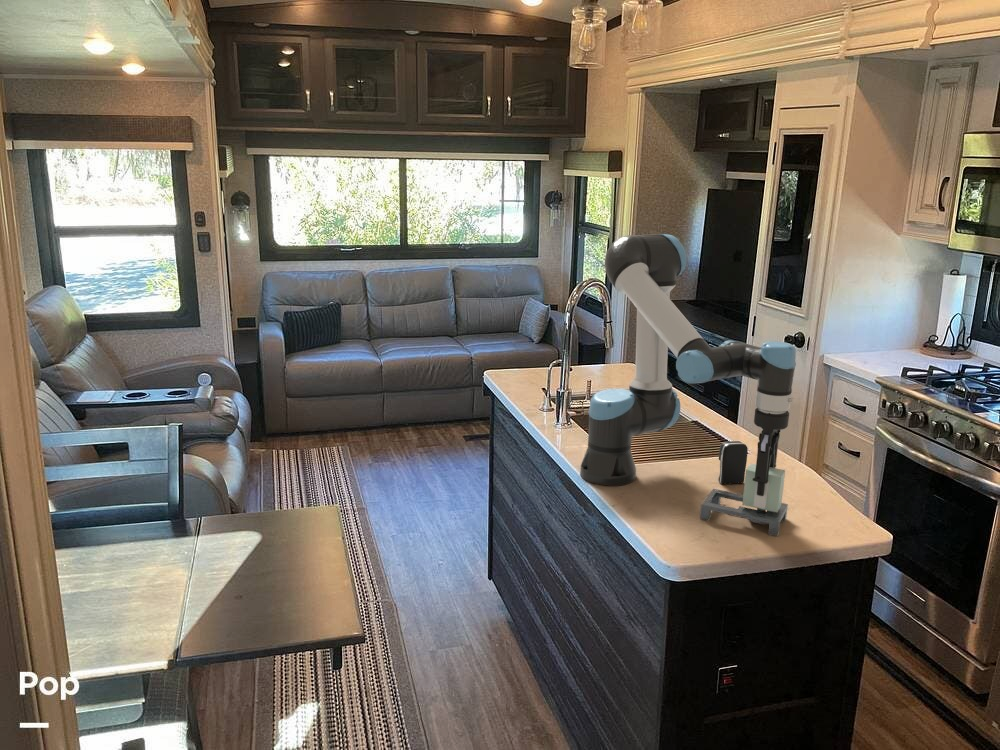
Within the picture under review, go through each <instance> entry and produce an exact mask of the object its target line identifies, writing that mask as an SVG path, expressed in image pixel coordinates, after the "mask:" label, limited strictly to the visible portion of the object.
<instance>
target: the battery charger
mask: <svg viewBox="0 0 1000 750" xmlns="http://www.w3.org/2000/svg"><path fill="white" fill-rule="evenodd" d="M748 451H749V449H748V446H747V444H746V443H744V442H742V441H739V440H735V441H724V442H722V443H720V446H719V451H718V460H719V461H720V463H719V465H720V466H719V475H718V482H719V484H721V485H736V484H745V475H746V469H747V462H748V461H747V460H748Z"/></svg>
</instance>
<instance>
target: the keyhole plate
mask: <svg viewBox="0 0 1000 750" xmlns="http://www.w3.org/2000/svg"><path fill="white" fill-rule="evenodd" d="M743 495H744V494H741V493H735V492H732V491H731V492H730V491H726V490H721V489H717V488H712V490H711V492H709V494H708V495H707V496H706V497H705V499H704V500H703V501H702V502H701V504H700V512H699V514H700V516H699V519H700V520H704V521H707V522H708V521H709V520H710V519H711V515H712V514H711V513H712V512H716V513H720V514H726V515H730V516H735V517H739V518H743V519H747V520H749V519H752V520H756V521H761V522H765V523H770V524H768V525H769V526H768V533H767V534H768V535H769V536H773V537H778V536H779V534H780V527H781V522H782V523H784V522H786V520H787V515H788V507H789V504H788V503H784V502H782V504H781V507H780V509H779V510H778V512H773V511H768V510H766V512H764V511H760V510H757V509H756V508H755V509H754V508H752V507H747V506H741V505H740V506H739V507H738V508H735V507H730V506H727V505H726V506H725V505H721V498H722V499H726V500H727V499H729V500H732V501H737V502H742V503H743Z"/></svg>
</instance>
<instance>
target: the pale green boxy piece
mask: <svg viewBox="0 0 1000 750" xmlns="http://www.w3.org/2000/svg"><path fill="white" fill-rule="evenodd" d="M755 471H756V463H755V464H754V463H749V466H748V467H746V469H745V477H744V488H743V494H742V495H743V502H742V506H744V507H748V508H753V509H754V508H755V509H756V510H760V511H764V512H767V510H768V511H773V512H778V510H779V509H780V507H781V504H782V503H783V494H784V486H785V476H786V470H785V469H781V468H777V467H775V468H771V467H770V468H769V475H768V482H769V484H768V493H767V502H766V508H765V509H764V508H759V507H754V506H753V505H754V495H755V486H756V482H755V481H753V478H755ZM748 520H749V521H751V522H753V523H755V524H760V525H769V524H770V523H765V522H761V521H756V520H752V519H748Z"/></svg>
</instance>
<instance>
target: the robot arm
mask: <svg viewBox="0 0 1000 750" xmlns="http://www.w3.org/2000/svg"><path fill="white" fill-rule="evenodd" d="M604 257H605V258H604V269H605V272H606V276H607V278H608V280H609V282H610V283H611V285H612V286H613V287H614V289H615V290H616V291H617V292H618V293H621V294H625V296H626V297H627V298H628V299H629V300H630V302H631V303H632V304H633V305H634V307H635V308H636V329H635V331H636V337H635V338H636V339H635V366H634V367H635V372H634V373H635V374H634V375H635V376H634V378H633V379H632V380H631V381H630V382H629V388H628V389H625V388H608V389H603V390H600V391H597V392H596V393H594V394H593V395H592V397H591V398H590V402H589V408H588V437H587V448H586V451H585V453H584V457H583V458H582V462H581V464H580V468H579V469H580V471H579V472H580V474H579V475H580V477H581V478H582V479H583V480H585V481H587V482H590V483H592V484H595V485H601V486H608V485H609V487H610V485H612V487H613V486H624V485H628V484H631V483H632V482H634V481H635V480H636V479H637V478H636V477H637V466H636V463H635V460H634V456H633V453H632V437H635V436H639V435H644V434H648V433H653V432H654V433H655V432H662V431H663V430H667V429H669V428H671V427H672V426H673V425H675V423H676V422H677V420H678V419H679V417H680V413H681V401H680V398H678V393H677V392H676V391H675V390H674V389H673V384H672V383H671V382H670V380H669V379H668V358H669V357H668V354H669V353H668V351H669V350H670V351H671V352H672V353H673V355H674V356H675V358H676V361H675V369H676V371H677V375H678V378H680V379H681V381H683V382H685V383H687V384H704V383H708V382H712V381H716V380H722V379H730V378H735V377H745V378H749V379H751V380H756V381H757V387H756V388H757V389H756V395H755V402H754V404H755V405H754V406H755V407H756V408H755V409H754V415H753V416H754V417H753V423H754V425H755V426H756V427H759V428H761V429H762V430H761V433H759V434H758V442H757V454H756V463H755V465H756V471H755V478H753V481H755V482H756V486H755V495H754V505H753V506H754V507H759V508H764V509H765V508H766V502H767V493H768V484H769V482H768V475H769V468H770V467H771V468H777V460H778V459H777V457H778V448H779V441H780V438H781V437H780V435H781V434H780V433H781V430H786V429H787V428H788V427H789V421H790V419H789V418H790V412H789V410H790V409H791V403H793V402H794V398H793V397H791V396H792V392H793V389H792V388H793V383H794V377H795V376H794V375H795V370H796V364H797V363H796V358H797V357H796V356H797V355H796V353H797V350H796V349H797V348H796V347H795V346H794V345H793V344H791V343H788V342H785V341H776V340H773V341H771V340H770V341H765V342H764V343H762V344H761V347H760V346H757V345H752V344H748V343H746V342H743V341H739V340H730V339H729V340H725V341H723V342H722V343H721V344H719V345H718V346H715V347H711V346H710V345H709V344H708V342H707V341H706V340H705V339H704V338H703V337H702V335H700V333H699V332H698V331H697V329H696V328H695V327H694V326H693V324H692V323H691V322H690V321H689V320H688V319H687V318H686V317H685V316H684V314H683V313H682V312H681V311H680V309H679V308H678V307H677V306H676V305H675V303H674V302H673V301H672V300H671V299H670V297H671V296H670V295H671V291H672V290H673V289H674V288H675V287H676V286H677V277H679V276H680V275H682V274H683V271H685V269H686V265H687V253H686V250H685V247H684V245H683V243H682V242H680V240H679V238H678V237H676V236H674V235H673V234H668V233H666V234H665V233H650V234H639V235H638V234H637V235H636V234H635V235H634V234H631V235H630V234H629V235H623V236H621V237H619V238H616V239H615V240H614V241H613V242H612V243H611V244H610V246H609V247H608V249H607V251H606V253H605V255H604ZM630 482H631V483H630ZM754 507H753V508H754Z"/></svg>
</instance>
